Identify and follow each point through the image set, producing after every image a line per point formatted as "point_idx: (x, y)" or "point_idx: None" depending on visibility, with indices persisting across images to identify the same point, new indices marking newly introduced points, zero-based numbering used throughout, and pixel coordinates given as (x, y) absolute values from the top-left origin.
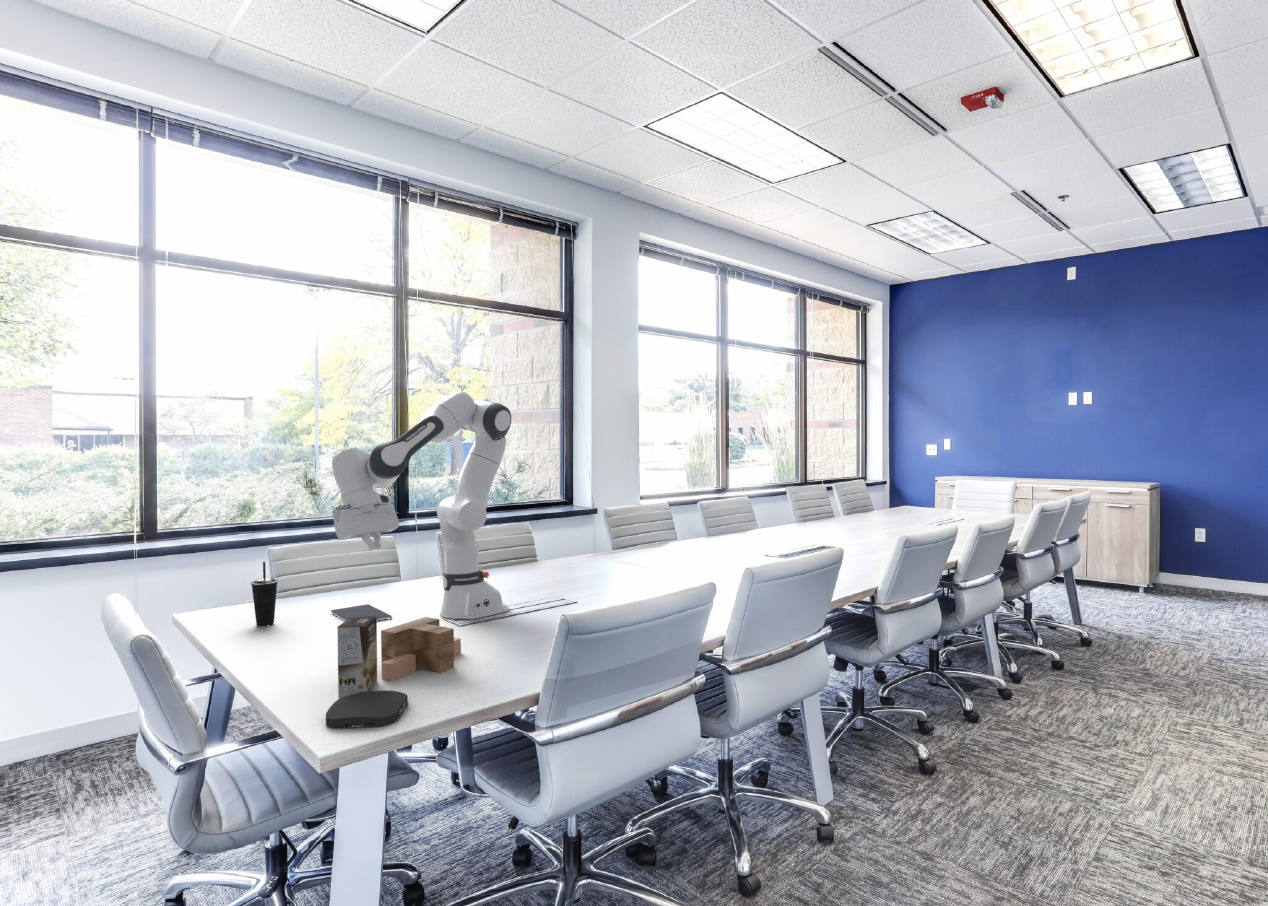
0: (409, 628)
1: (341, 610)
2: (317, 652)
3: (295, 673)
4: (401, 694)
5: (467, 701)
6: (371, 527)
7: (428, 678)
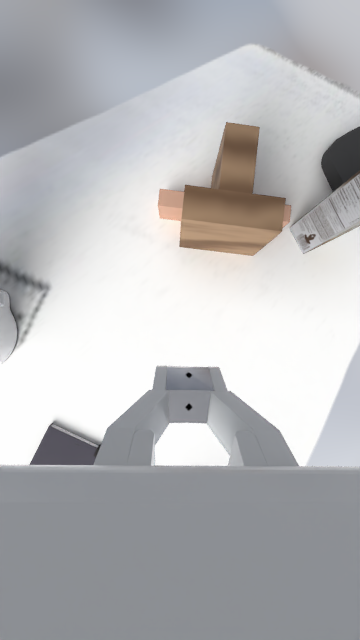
0: (254, 194)
1: None
2: (230, 389)
3: (301, 345)
4: (336, 148)
5: (296, 95)
6: (262, 542)
7: (255, 181)
